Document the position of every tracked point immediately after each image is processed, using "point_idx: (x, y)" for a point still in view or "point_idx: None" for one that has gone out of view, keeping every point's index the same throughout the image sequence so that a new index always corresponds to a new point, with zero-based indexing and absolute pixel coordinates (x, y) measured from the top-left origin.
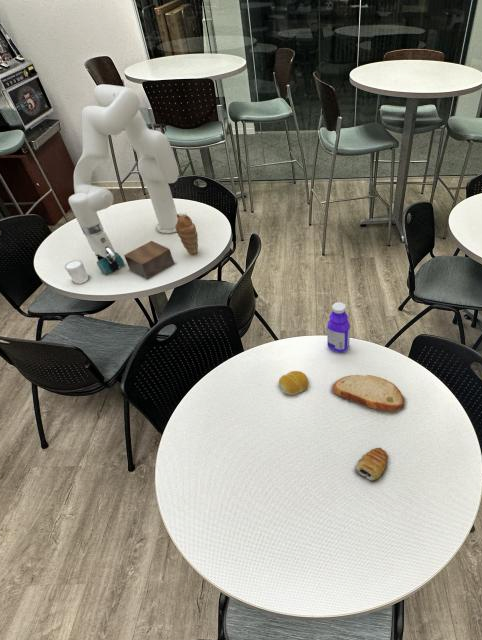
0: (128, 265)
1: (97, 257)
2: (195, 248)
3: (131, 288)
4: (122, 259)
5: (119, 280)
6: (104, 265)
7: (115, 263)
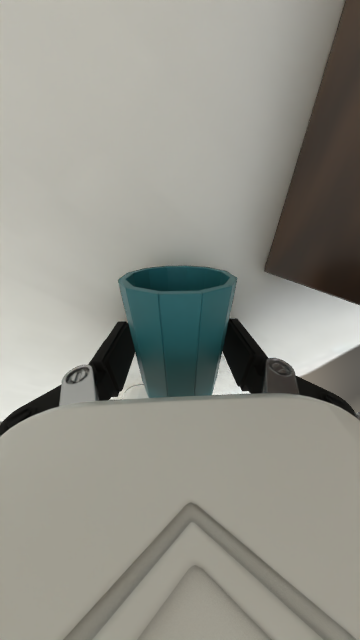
0: (292, 279)
1: (117, 396)
2: None
3: (347, 344)
4: (236, 279)
5: (268, 343)
6: (212, 390)
7: (265, 358)
